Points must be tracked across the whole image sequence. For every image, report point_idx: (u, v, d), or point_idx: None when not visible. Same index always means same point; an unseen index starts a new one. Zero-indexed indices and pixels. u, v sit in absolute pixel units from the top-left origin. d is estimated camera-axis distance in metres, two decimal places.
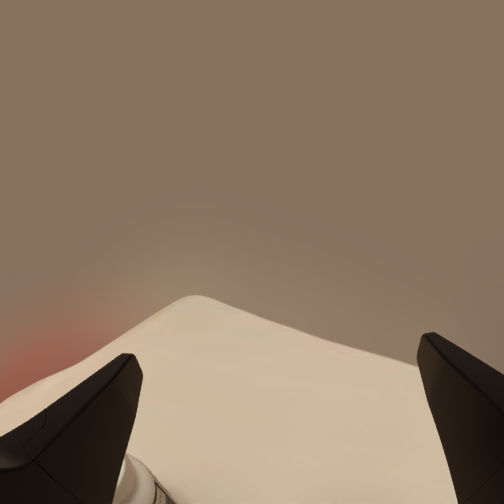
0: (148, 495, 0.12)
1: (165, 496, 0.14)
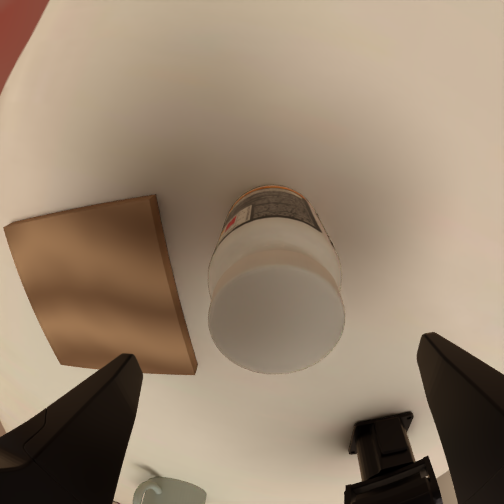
0: (340, 282, 0.12)
1: None
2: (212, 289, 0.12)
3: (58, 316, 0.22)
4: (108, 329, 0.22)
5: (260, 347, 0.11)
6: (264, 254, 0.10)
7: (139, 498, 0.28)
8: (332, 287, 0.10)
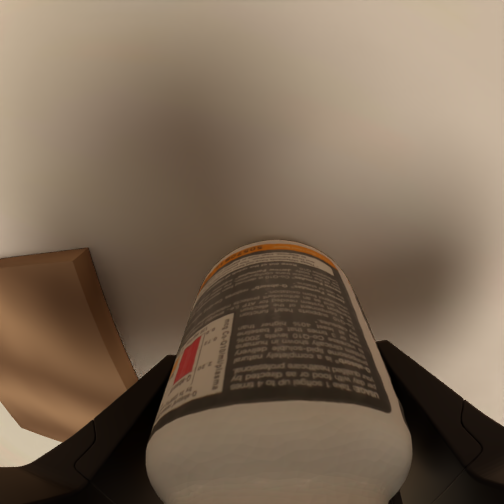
0: None
1: None
2: (156, 493, 0.05)
3: (5, 384, 0.14)
4: (60, 409, 0.14)
5: None
6: None
7: None
8: None
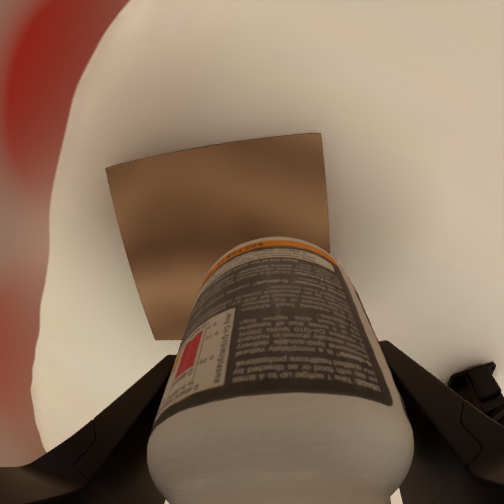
0: None
1: None
2: (157, 488, 0.05)
3: (171, 275, 0.22)
4: None
5: None
6: None
7: None
8: None
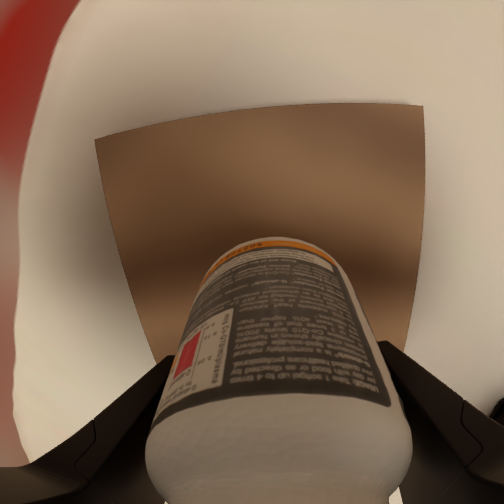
0: (406, 472, 0.05)
1: None
2: None
3: (191, 302, 0.15)
4: None
5: None
6: None
7: None
8: None
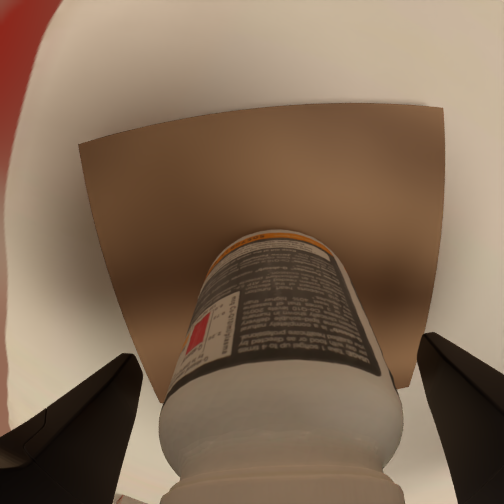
0: (398, 443, 0.05)
1: None
2: (167, 459, 0.06)
3: (187, 323, 0.13)
4: None
5: None
6: (261, 494, 0.03)
7: None
8: None
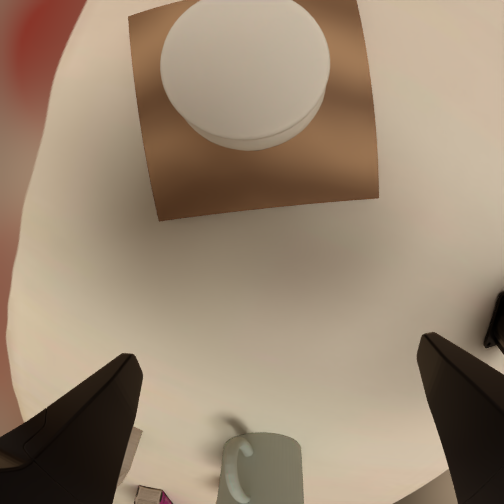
0: None
1: None
2: None
3: None
4: None
5: (223, 89, 0.07)
6: None
7: (234, 460, 0.23)
8: None
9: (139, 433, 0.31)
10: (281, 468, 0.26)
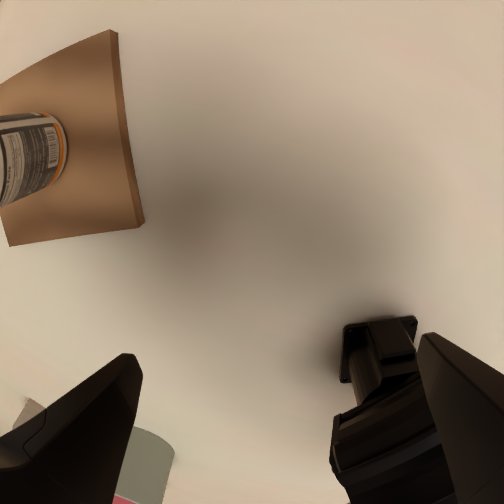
0: None
1: (20, 133, 0.13)
2: None
3: None
4: None
5: None
6: None
7: None
8: None
9: None
10: (138, 460, 0.28)
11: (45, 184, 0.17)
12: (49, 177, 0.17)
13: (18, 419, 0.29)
